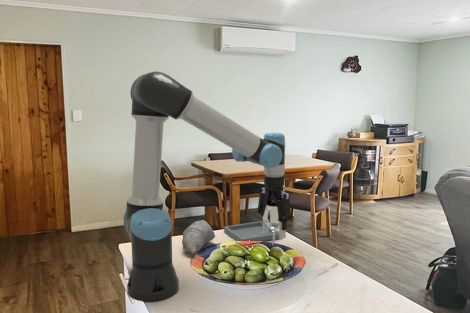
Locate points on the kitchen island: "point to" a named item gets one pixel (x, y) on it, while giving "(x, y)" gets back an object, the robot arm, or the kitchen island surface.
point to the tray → (249, 232)
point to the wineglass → (271, 218)
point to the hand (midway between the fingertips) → (273, 235)
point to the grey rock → (197, 236)
